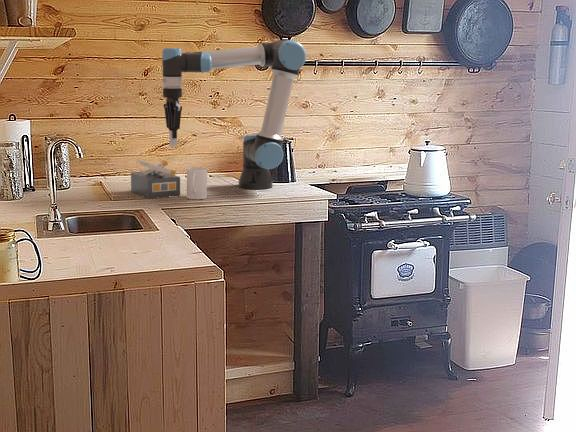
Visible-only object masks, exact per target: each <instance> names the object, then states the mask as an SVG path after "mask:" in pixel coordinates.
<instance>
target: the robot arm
mask: <svg viewBox="0 0 576 432" xmlns="http://www.w3.org/2000/svg"><path fill="white" fill-rule="evenodd" d="M161 57H162V58H161V61H162V62H161V64H162V79H161V81H162V87H163V88H162V97H163V98H165V99H166V101H165V102H166V103H163V108H164V116H165V124H166V126H165V127H166V128H167V129H168V130H169V131H168V132H169V147H171V148H173V147H174V148H175V147H178V130H180V129H181V118H182V117H181V116H182V110H183V106H182V105H180V99H179V98H182V97H183V89H182V86H183V76H182V73H202V74H203V73H210V72H211V71H212V70H214V69H226V68H237V67H248V66H260V67H261V68H263V67H271V72H272V74H273V78H272V82H271V84H270V85H271V86H270V89H269V95H268V98H267V103H266V108H265V111H264V116H263V122H262V125H261V129H260V131H259V132H257V133H256V134H247V135H246V134H245V135H244V136H243V141H242V145H243V146H242V169H241V173H240V175H239V179H238V187H240V188H242V189H248V190H266V189H272V188H273V178H272V175H271V172H270V170H272V169H275V168H277V167H279V165H280V164H281V163H282V162H283V159H284V151H283V143H284V139H283V137H282V132H283V127H284V124H285V119H286V115H287V112H288V107H289V106H288V105H289V102H290V97H291V93H292V89H293V88H292V87H293V83H294V80H295V79H296V78H298V77H299V75H300V74H299V73H300V70H301V68H302V67H303V66H304V64H305V63H306V61H307V60H306V59H307V53H306V49H305V47H304V46H303V45H302V44H301V43H300V42H298V41H297V40H296V41H295V40H291V39H288V40H286V39H285V40H283V39H282V40H281V39H280V40H276V41H272V42H267V43H259V45H257V46H250V47H239V48H228V49H216V50H215V49H214V50H203V51H193V52H191V51H187V52H182V49H181V48H178V47H165V48H163V49H162V56H161Z"/></svg>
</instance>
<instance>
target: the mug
mask: <svg viewBox="0 0 576 432" xmlns="http://www.w3.org/2000/svg"><path fill="white" fill-rule="evenodd" d="M207 176H208V169H207V168H206V167H200V166H199V167H197V166H196V167H195V166H193V167H187V168H186V196H185V198H186V197H187V198H189V199H188V200H192V199H203V200H206V199H208V193H207V192H208V191H207V190H208V189H207V188H208V185H207V184H208V181H207V180H208V177H207ZM187 198H186V199H187Z"/></svg>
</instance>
